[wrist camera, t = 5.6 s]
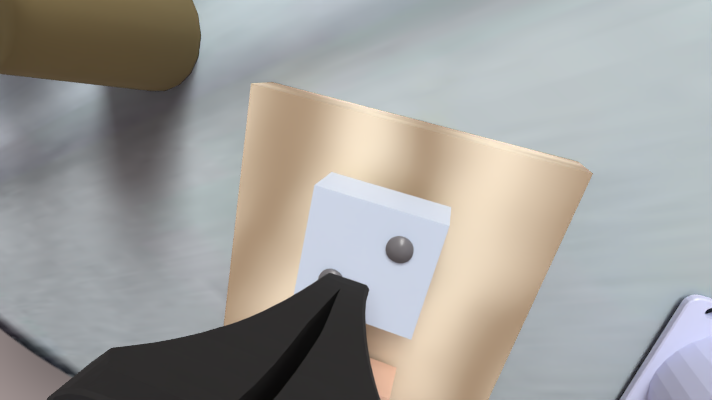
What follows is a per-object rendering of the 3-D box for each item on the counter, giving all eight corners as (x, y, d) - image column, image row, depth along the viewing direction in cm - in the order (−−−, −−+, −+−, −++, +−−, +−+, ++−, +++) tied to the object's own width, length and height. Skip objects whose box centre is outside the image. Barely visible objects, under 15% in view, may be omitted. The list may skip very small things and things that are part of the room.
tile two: (451, 207, 15) (449, 227, 13) (416, 310, 17) (410, 342, 15) (331, 171, 16) (312, 186, 14) (310, 273, 18) (291, 299, 16)
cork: (140, 111, 21) (-161, 150, 11) (76, 4, 20) (-322, -64, 10) (222, 54, 19) (-59, 35, 9) (154, -70, 18) (-253, -256, 8)
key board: (578, 161, 16) (592, 173, 14) (404, 553, 26) (400, 589, 24) (272, 82, 19) (251, 83, 17) (220, 469, 29) (204, 497, 27)
